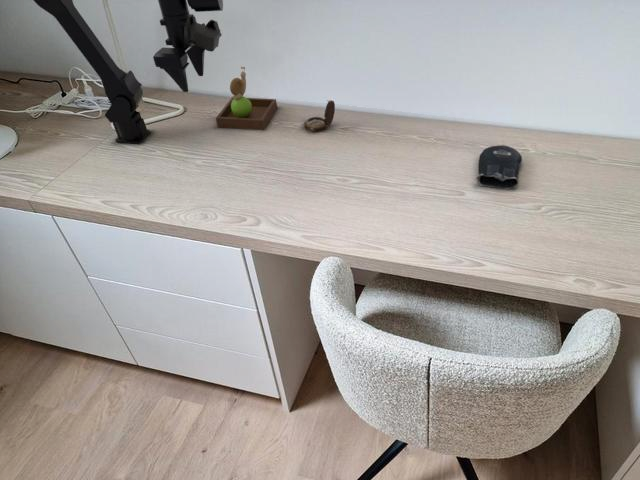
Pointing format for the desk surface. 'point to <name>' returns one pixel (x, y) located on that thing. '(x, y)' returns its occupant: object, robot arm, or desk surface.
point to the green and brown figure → (240, 97)
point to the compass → (321, 119)
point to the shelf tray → (255, 120)
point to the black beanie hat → (499, 167)
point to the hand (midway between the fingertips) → (193, 83)
